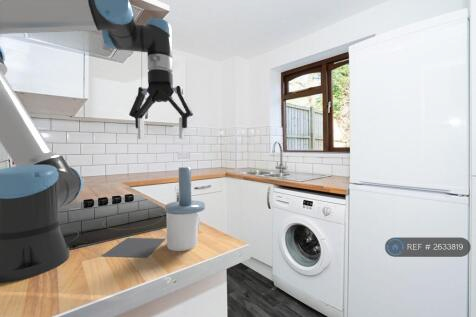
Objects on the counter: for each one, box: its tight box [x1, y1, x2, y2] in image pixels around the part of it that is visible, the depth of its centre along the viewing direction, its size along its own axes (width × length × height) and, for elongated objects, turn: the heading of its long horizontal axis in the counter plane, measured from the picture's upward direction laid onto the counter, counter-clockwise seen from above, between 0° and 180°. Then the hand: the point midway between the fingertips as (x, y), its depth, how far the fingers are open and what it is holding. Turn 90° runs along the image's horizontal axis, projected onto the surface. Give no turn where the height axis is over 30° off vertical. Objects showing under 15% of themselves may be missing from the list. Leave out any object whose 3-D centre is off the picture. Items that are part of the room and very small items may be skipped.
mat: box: [101, 237, 166, 259], centre depth 63 cm, size 12×12×1 cm
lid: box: [164, 166, 206, 214], centre depth 65 cm, size 11×11×12 cm
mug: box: [165, 211, 201, 252], centre depth 66 cm, size 12×8×10 cm
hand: (161, 138), depth 74 cm, fingers open, 13 cm apart
